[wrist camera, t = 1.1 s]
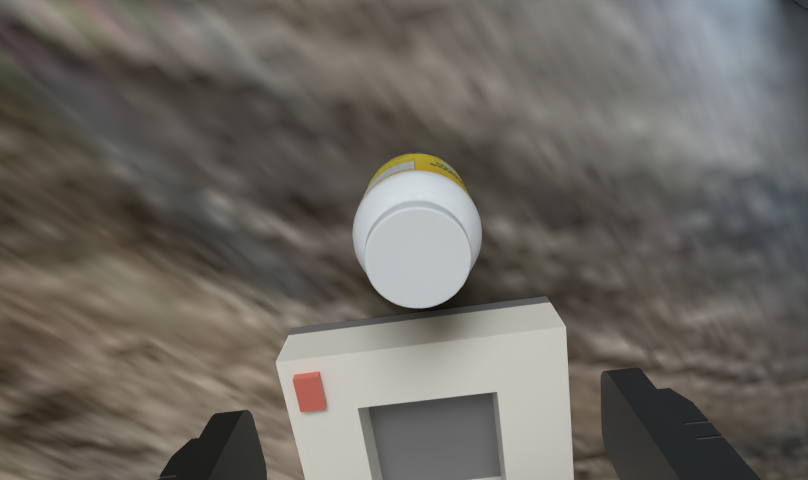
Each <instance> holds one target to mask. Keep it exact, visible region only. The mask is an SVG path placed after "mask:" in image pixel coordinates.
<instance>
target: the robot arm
mask: <svg viewBox="0 0 808 480" xmlns="http://www.w3.org/2000/svg"><path fill="white" fill-rule="evenodd" d="M793 1H795V2H797V3H798V4H800V5H801V6H803V7H804V8H806V9H808V0H793ZM601 418H602V435H603V441H604V445H605V449H606V452H607V454H608V457H609V459H610V461H611V463H612V465H613V467H614V469H615V471H616V473H617V475H618V476H619V478H620V480H761V479H760V478H759V477H758V476H757V475H756V474H755V473H754V471H753V470H752V469H751V468H750V467H749V466H748V465H747V464H746V462H745V461H744V460H743V459H742V458H741V457H740V456H739V454H738V453H737V452H736V451H735V450H734V449H733V448H732V447H731V445H730V444H729V443H728V442H727V441H726V440H725V439H724V438H722V437H721V434H720V433H719V432H718V431H717V430H716V428H715V427H714V426H713V425H712V424H711V423H708V419H707V418H706V417H705V416H704V415H703V414H702V412H701V411H700V410H699V409H698V408H697V407H696V406H695V405H694V403H693V402H691V401H690V400H688V399H686V398H685V397H683V396H681V395H680V394H678V393H676V392H675V391H673V390H671V389H670V388H666V389H656V388H655V386H654V385H653V384H652V383H651V381H650V380H649V379H648V378H647V376H646V375H645V374H644V373H643V371H642V370H641V369H639V368H629V369H620V370H611V371H603V372H602V374H601ZM158 480H267V471H266V464H265V460H264V456H263V452H262V449H261V445H260V441H259V438H258V434H257V430H256V427H255V423H254V419H253V416H252V414H251V413H250V411H248V410H242V411H233V412H224V413H216V414H214V415H213V416H212V417H211V419H210V420H209V422H208V424H207V425H206V427H205V429H204V430H203V432H202V434H201V435H200V437H199V438H196V439H191V440H190V441H189V442H187V443H186V444H185V445H184V446H183V447H182V448H181V449H180V450H179V451H177V452H176V453H175V454H174V455H173V456H172V457H171V459H170V460H169V462H168V463H167V465H166V467H165V468H164V470H163V471H162V473H161V474H160V479H158Z"/></svg>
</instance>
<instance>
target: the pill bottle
mask: <svg viewBox="0 0 808 480" xmlns="http://www.w3.org/2000/svg"><path fill="white" fill-rule="evenodd" d="M481 242H482V227H481V221H480V217H479V214H478V211H477V209H476V207H475V205H474V203H473V201H472V199H471V197H470V196H469V194H468V192H467V190H466V188H465V186H464V184H463V182H462V180H461V178H460V177H459V175H458V174H457V172H456V171H455V170H454V169H453V168H452V167H451V166H450V165H449V164H448V163H447V162H445V161H444V160H442V159H440V158H438V157H436V156H434V155H430V154H426V153H407V154H403V155H399V156H397V157H394V158H392V159H391V160H389V161H388V162H386V163H385V164H384V165H382V166H381V167H380V168H379V169H378V171H377V172H376V173H375V175H374V176H373V178H372V179H371V181H370V183H369V186H368V188H367V190H366V192H365V194H364V197H363V199H362V201H361V203H360V205H359V207H358V210H357V212H356V215H355V219H354V224H353V244H354V249H355V253H356V256H357V258H358V261H359V263H360V265H361V266H362V268H363V269H364V271H365V272H366V274H367V276H368V278H369V280H370V282H371V284H372V285H373V286H374V288H375V289H376V290H377V291H378V292H379V294H381V295H382V296H383V297H384V298H386V299H387V300H389V301H390V302H392V303H394V304H397V305H400V306H403V307H408V308H428V307H433V306H436V305H438V304H441V303H443V302H445V301H447V300H448V299H450V298H451V297H452V296H454V295H455V294H456V293H457V292H458V291H459V290H460V288H461V287H462V286H463V284H464V283H465V281H466V279H467V277H468V274H469V272H470V270H471V269H472V267H473V266H474V264H475V262H476V260H477V258H478V255H479V252H480V248H481Z"/></svg>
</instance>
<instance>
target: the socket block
mask: <svg viewBox="0 0 808 480" xmlns="http://www.w3.org/2000/svg"><path fill="white" fill-rule="evenodd" d="M276 366H277V370H278V374H279V378H280V382H281V386H282V389H283V393H284V397H285V401H286V405H287V409H288V413H289V417H290V421H291V425H292V429H293V433H294V437H295V440H296V444H297V448H298V452H299V456H300V460H301V464H302V468H303V472H304V476H305V480H574V473H573V454H572V435H571V416H570V397H569V378H568V359H567V340H566V326H565V325H564V323H563V322H562V320H561V318H560V317H559V315H558V314H557V312H556V311H555V309H554V307H553V306H552V304H551V303H550V301H549V300H548V298H547V296H544V297H536V298H528V299H520V300H512V301H504V302H496V303H488V304H481V305H473V306H465V307H457V308H449V309H441V310H433V311H425V312H418V313H410V314H402V315H394V316H386V317H378V318H370V319H362V320H355V321H347V322H339V323H331V324H323V325H315V326H307V327H299V328H292V330H291V332H290V334H289V336H288V338H287V340H286V342H285V344H284V346H283V348H282V350H281V352H280V354H279V357H278V359H277V361H276Z"/></svg>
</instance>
